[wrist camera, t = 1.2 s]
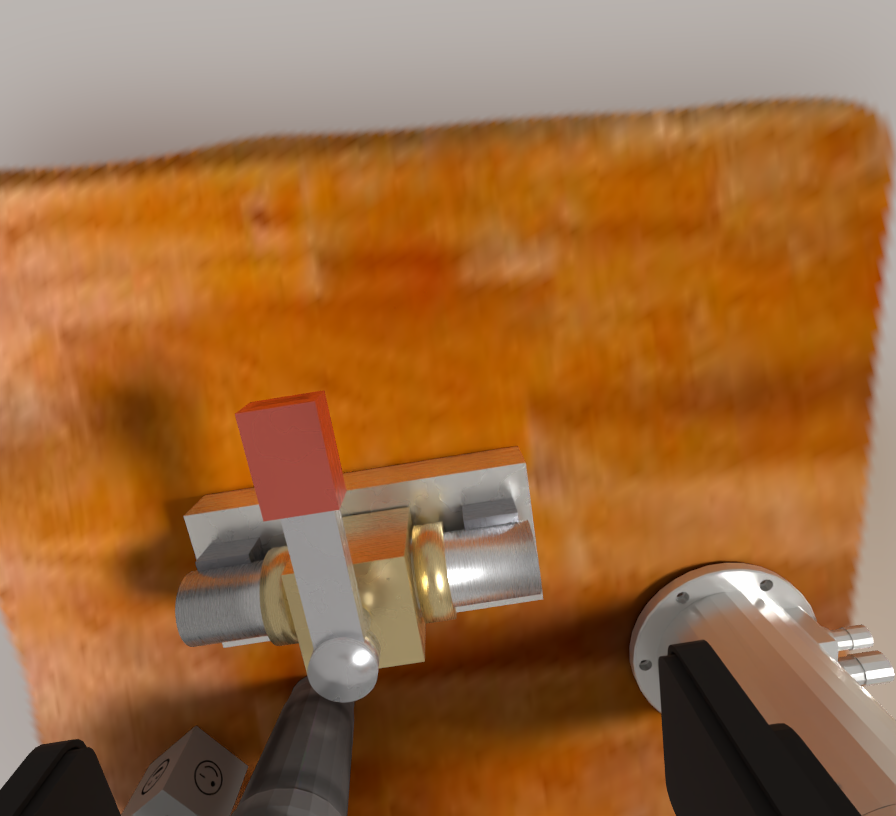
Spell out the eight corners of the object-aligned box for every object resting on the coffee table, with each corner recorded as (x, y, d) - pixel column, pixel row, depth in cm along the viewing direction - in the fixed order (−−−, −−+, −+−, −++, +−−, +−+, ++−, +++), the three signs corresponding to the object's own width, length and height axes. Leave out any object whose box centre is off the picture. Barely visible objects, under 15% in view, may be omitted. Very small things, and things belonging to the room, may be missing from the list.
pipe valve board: (518, 446, 34) (554, 524, 24) (534, 572, 37) (574, 695, 26) (204, 495, 35) (104, 594, 24) (240, 617, 37) (163, 756, 26)
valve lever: (386, 672, 25) (382, 702, 24) (322, 682, 25) (314, 712, 24) (324, 390, 22) (314, 401, 20) (250, 402, 22) (235, 413, 20)
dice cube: (248, 765, 40) (223, 833, 35) (202, 803, 41) (171, 875, 36) (196, 724, 39) (162, 789, 34) (150, 764, 40) (110, 832, 35)
